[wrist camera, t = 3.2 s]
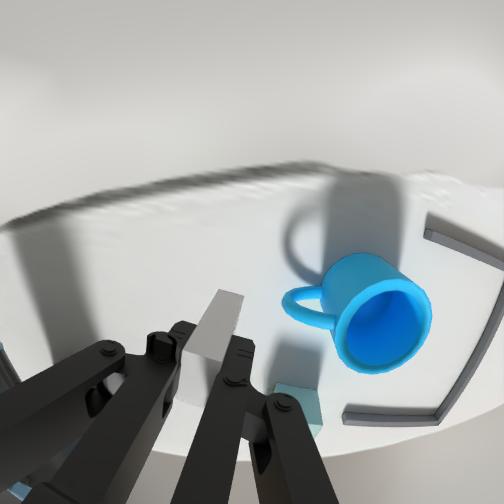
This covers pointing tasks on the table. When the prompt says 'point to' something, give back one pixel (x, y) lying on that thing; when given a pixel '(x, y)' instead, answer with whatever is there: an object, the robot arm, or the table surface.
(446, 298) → the table surface
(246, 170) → the table surface
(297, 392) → the block
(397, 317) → the mug
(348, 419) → the tray frame
